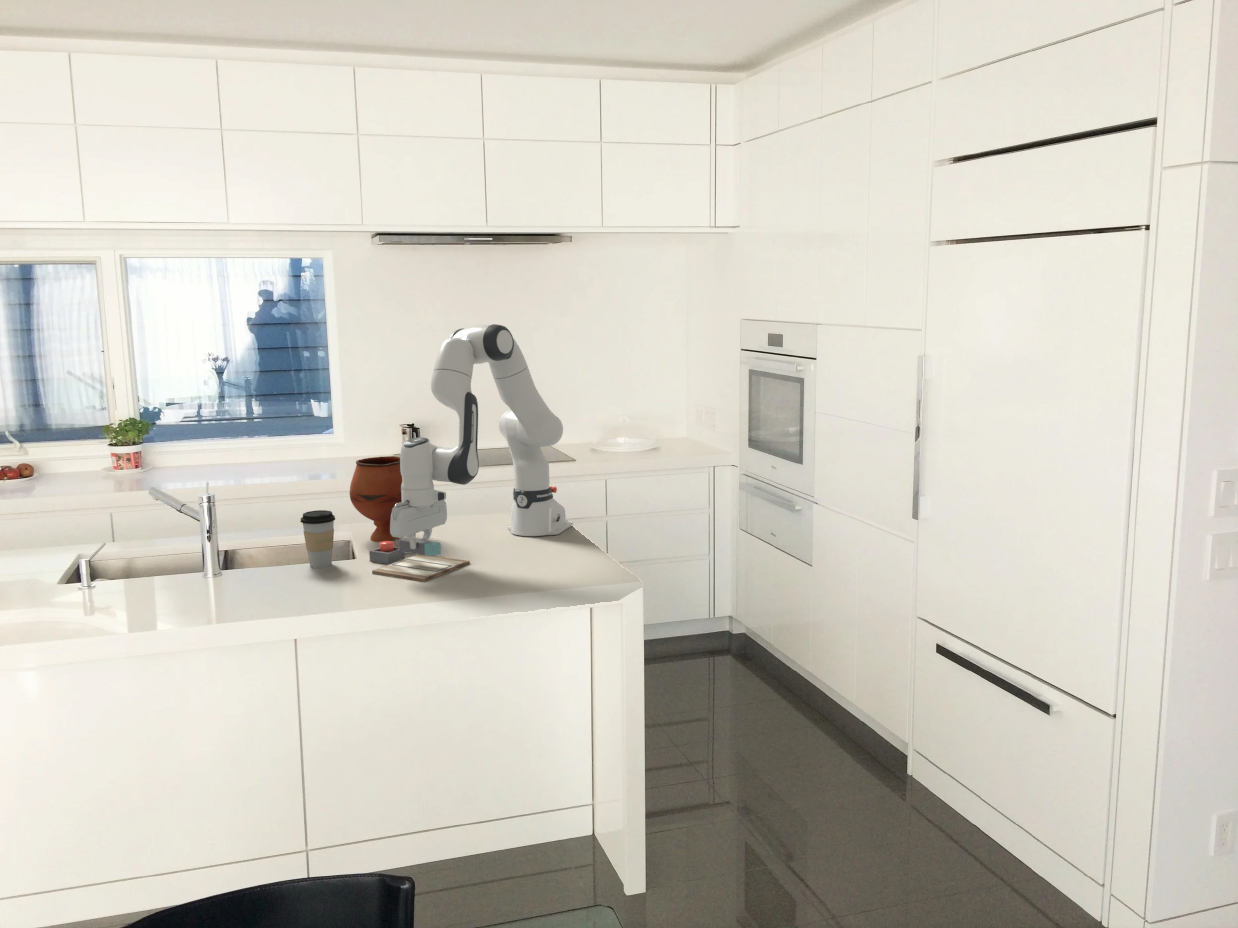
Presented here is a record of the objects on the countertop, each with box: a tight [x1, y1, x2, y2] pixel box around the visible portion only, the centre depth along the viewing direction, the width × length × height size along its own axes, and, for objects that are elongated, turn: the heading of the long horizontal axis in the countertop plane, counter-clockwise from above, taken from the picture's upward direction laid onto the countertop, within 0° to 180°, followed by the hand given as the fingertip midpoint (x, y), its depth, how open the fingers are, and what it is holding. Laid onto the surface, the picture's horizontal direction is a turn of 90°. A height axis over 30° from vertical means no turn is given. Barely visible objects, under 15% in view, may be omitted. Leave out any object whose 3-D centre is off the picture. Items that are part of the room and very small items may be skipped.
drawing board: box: [371, 554, 471, 583], centre depth 279 cm, size 20×18×1 cm
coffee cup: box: [300, 509, 336, 569], centre depth 282 cm, size 9×9×15 cm
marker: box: [398, 537, 442, 556], centre depth 278 cm, size 12×3×3 cm, turn 61°
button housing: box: [368, 546, 406, 565], centre depth 289 cm, size 7×7×3 cm
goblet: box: [349, 455, 402, 543], centre depth 312 cm, size 19×19×25 cm
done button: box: [379, 540, 395, 553], centre depth 288 cm, size 4×4×3 cm
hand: (419, 546), depth 278 cm, fingers closed on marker, 3 cm apart
